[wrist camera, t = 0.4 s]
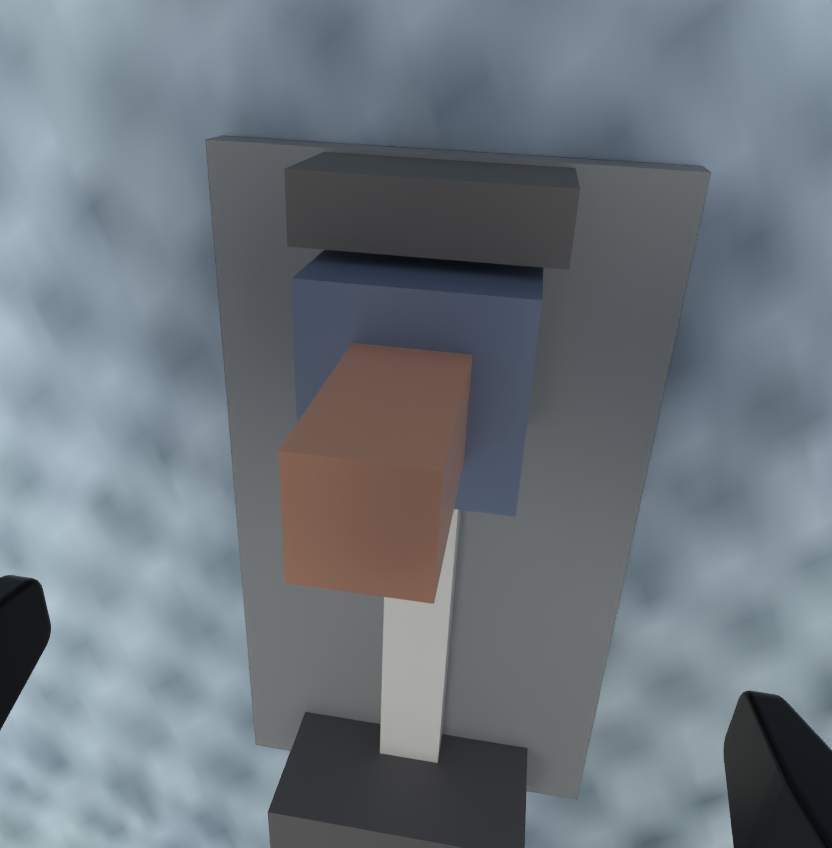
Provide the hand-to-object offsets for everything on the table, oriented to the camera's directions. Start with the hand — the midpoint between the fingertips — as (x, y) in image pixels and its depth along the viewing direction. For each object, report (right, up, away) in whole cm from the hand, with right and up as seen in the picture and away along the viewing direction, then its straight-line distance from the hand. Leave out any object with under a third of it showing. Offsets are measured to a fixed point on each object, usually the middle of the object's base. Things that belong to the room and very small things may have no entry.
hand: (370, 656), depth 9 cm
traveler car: (+1, +5, +9) cm, 10 cm away
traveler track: (+1, 0, +14) cm, 14 cm away
